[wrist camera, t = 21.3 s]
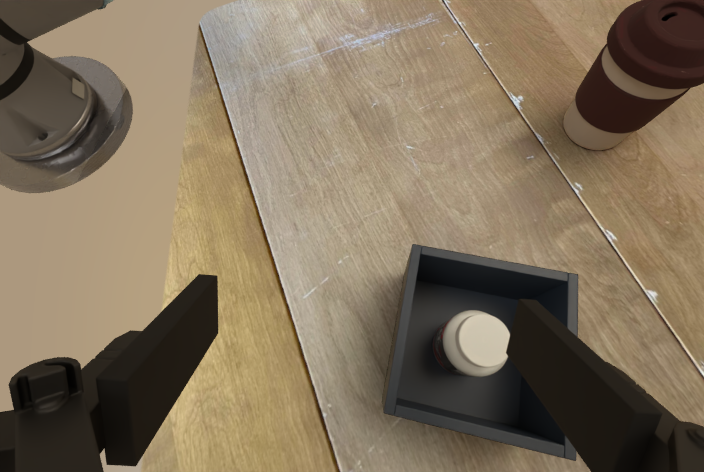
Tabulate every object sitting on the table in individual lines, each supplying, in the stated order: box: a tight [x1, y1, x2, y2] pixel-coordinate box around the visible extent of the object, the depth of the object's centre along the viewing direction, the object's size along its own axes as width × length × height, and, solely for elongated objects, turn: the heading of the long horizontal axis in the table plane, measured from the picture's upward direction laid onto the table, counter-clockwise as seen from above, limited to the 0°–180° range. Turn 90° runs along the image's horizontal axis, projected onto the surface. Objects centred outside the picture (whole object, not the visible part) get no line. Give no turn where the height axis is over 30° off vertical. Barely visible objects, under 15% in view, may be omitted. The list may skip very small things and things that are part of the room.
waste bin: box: [382, 244, 578, 461], centre depth 33 cm, size 14×14×10 cm
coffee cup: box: [563, 0, 704, 150], centre depth 39 cm, size 10×10×15 cm
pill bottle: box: [433, 310, 510, 377], centre depth 32 cm, size 5×5×10 cm
